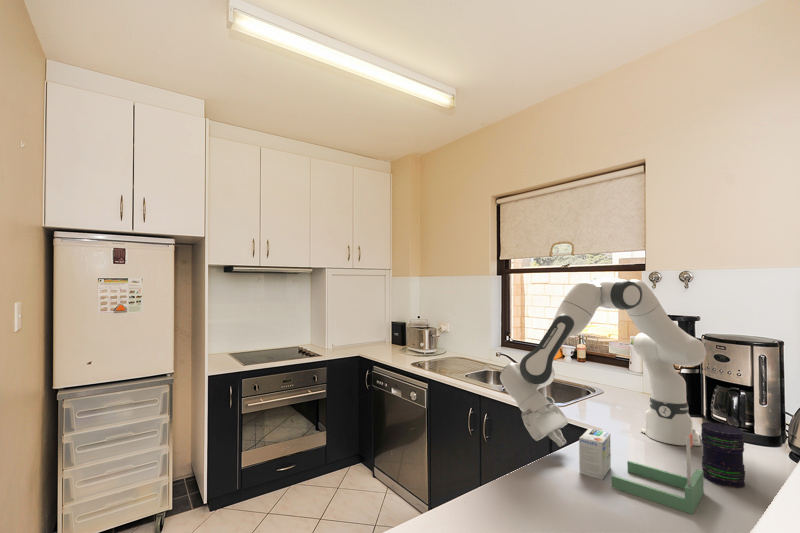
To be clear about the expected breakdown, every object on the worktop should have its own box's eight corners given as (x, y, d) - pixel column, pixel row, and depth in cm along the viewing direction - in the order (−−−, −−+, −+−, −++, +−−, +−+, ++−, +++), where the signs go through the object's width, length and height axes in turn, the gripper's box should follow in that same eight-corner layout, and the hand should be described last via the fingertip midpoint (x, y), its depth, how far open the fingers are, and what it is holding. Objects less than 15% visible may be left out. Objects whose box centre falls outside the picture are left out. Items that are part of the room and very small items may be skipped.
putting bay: (628, 470, 122) (627, 410, 123) (703, 493, 109) (701, 425, 110) (611, 487, 112) (610, 421, 113) (692, 514, 99) (690, 439, 100)
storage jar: (744, 492, 110) (742, 436, 111) (699, 480, 117) (698, 427, 118) (746, 480, 117) (744, 428, 118) (704, 469, 124) (703, 420, 125)
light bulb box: (588, 461, 128) (587, 427, 129) (611, 468, 124) (611, 432, 125) (578, 473, 120) (578, 436, 121) (603, 480, 116) (602, 442, 116)
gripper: (525, 408, 128) (555, 448, 121) (554, 396, 142) (582, 431, 135) (513, 418, 131) (541, 458, 124) (542, 406, 145) (569, 441, 138)
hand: (563, 444), depth 129 cm, fingers closed
